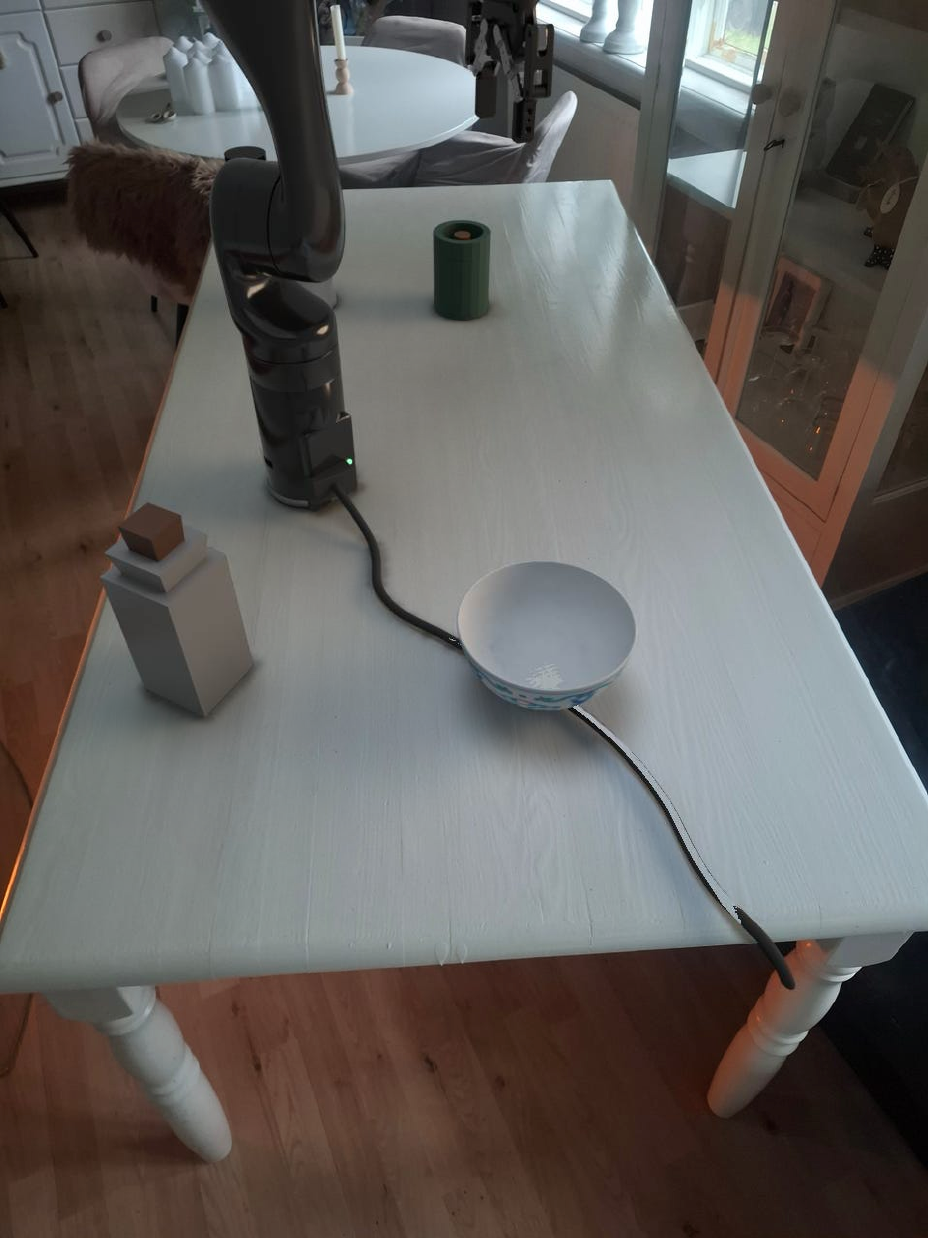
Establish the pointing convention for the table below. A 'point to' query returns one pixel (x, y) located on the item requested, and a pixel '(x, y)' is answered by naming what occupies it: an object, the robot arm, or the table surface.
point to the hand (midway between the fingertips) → (503, 129)
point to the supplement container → (245, 153)
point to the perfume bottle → (177, 609)
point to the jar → (461, 270)
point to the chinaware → (546, 632)
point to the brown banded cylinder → (462, 235)
